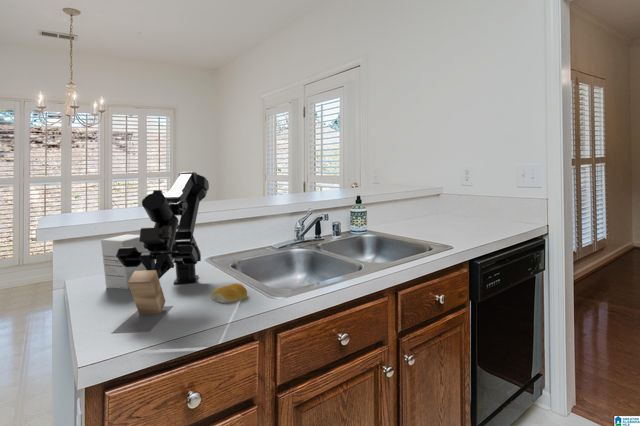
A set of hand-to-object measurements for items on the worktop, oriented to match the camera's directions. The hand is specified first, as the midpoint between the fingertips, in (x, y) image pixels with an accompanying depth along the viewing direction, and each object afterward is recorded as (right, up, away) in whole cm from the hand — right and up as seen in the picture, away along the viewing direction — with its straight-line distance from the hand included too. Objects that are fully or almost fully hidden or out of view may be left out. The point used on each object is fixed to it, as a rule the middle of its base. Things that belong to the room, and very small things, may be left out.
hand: (150, 285), depth 89 cm
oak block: (0, -6, +1) cm, 6 cm away
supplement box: (-18, -5, +24) cm, 30 cm away
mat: (0, -7, -4) cm, 8 cm away
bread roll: (+17, -6, +9) cm, 20 cm away
